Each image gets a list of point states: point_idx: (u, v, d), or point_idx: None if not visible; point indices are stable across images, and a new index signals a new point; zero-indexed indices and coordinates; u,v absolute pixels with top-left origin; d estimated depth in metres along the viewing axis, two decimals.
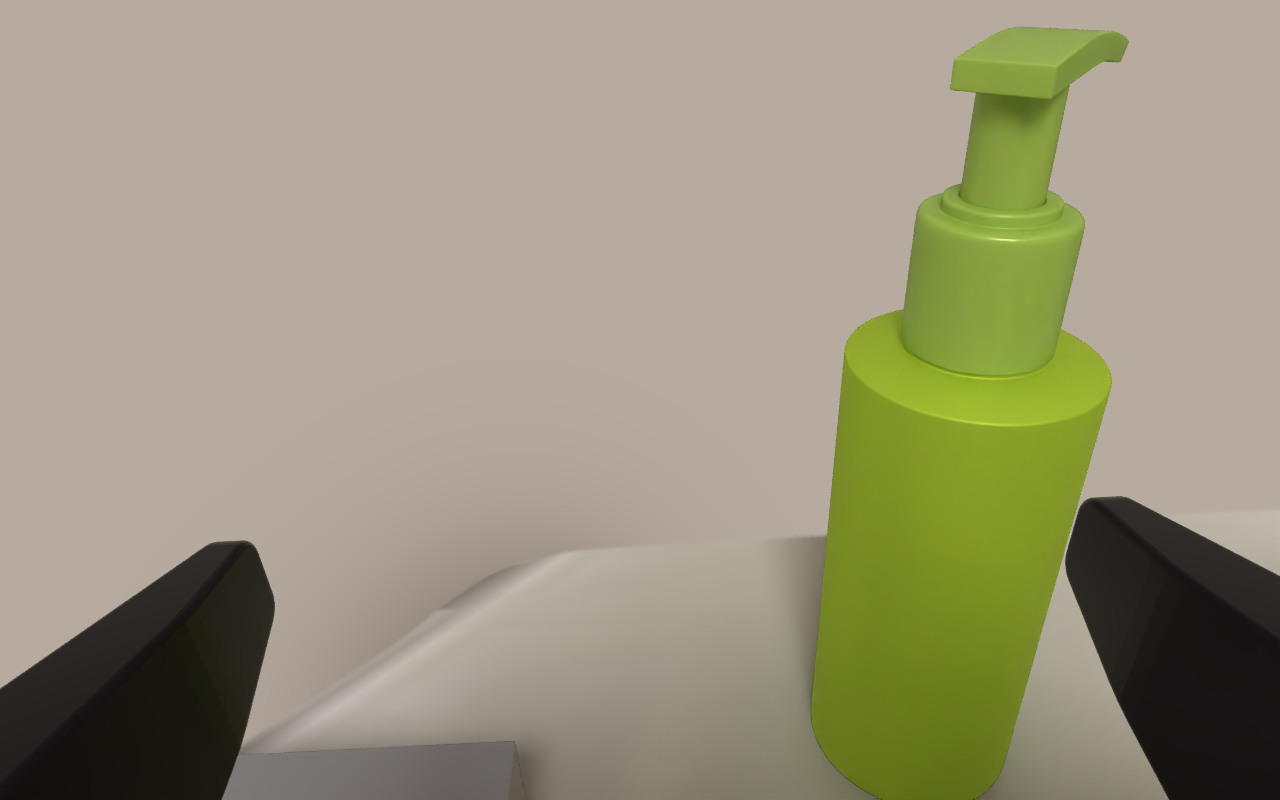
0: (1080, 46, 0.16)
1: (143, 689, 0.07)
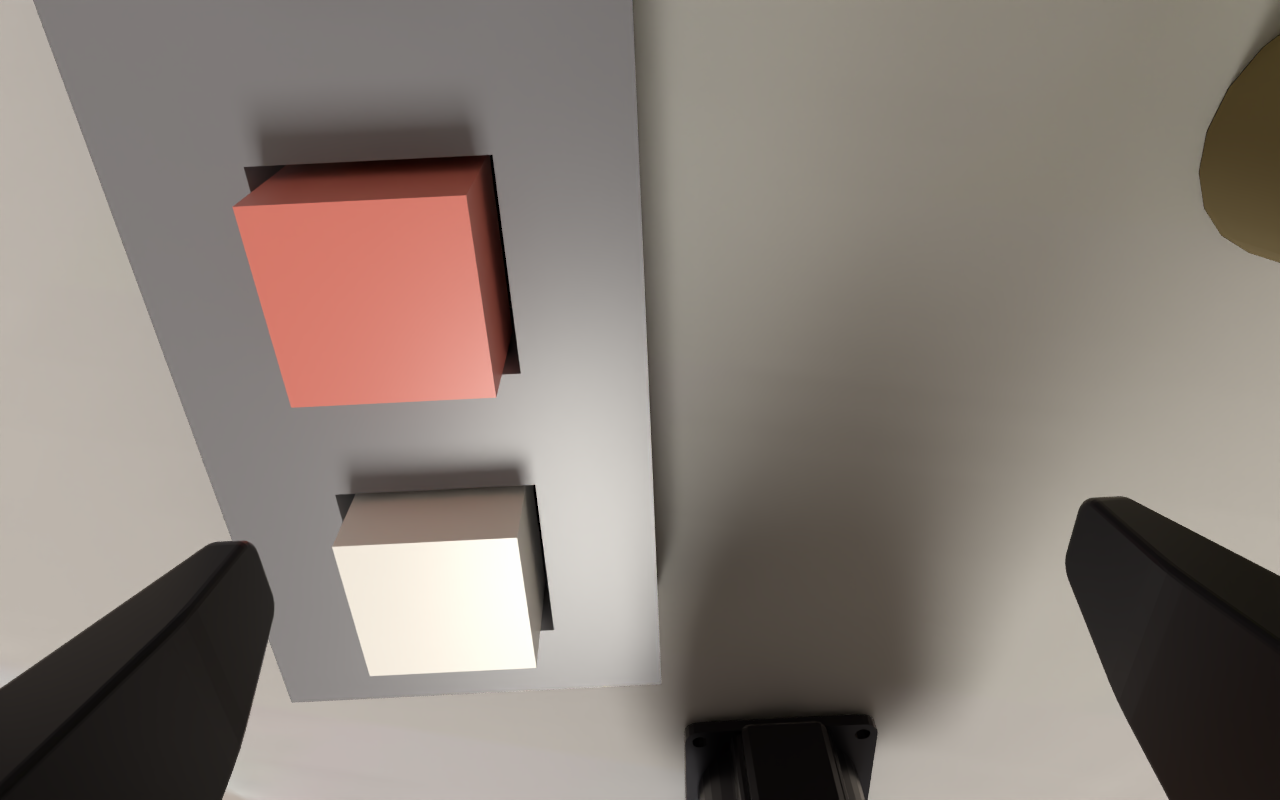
0: None
1: (142, 689, 0.07)
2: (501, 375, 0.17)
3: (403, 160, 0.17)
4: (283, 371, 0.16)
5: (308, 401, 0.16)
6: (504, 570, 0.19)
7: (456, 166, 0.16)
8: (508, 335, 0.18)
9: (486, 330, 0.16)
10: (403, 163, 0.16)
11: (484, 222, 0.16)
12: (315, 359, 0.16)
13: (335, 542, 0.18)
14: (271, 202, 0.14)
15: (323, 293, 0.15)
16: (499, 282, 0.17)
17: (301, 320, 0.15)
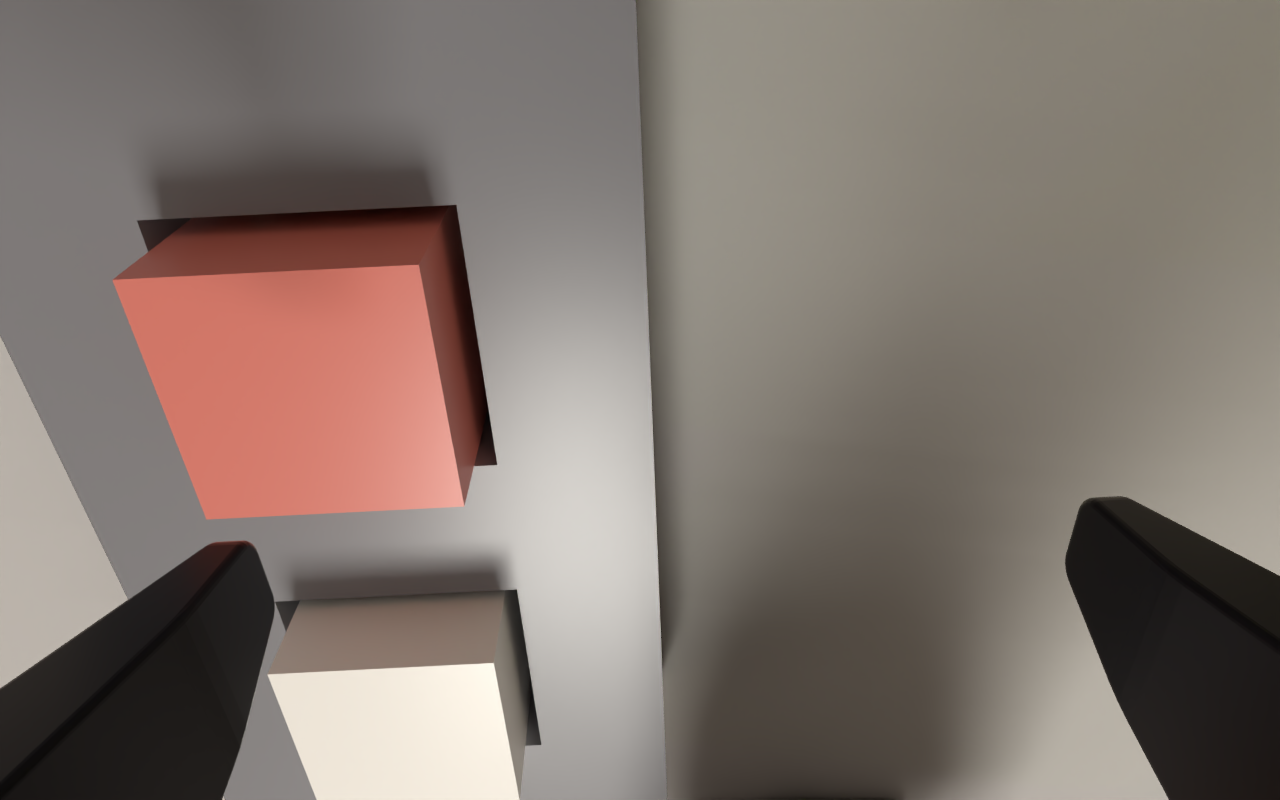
0: None
1: (142, 689, 0.07)
2: (472, 472, 0.14)
3: None
4: (193, 477, 0.13)
5: (227, 512, 0.13)
6: (479, 697, 0.15)
7: (411, 216, 0.13)
8: (482, 415, 0.15)
9: (450, 428, 0.12)
10: (345, 210, 0.13)
11: (447, 288, 0.13)
12: (234, 463, 0.13)
13: (272, 667, 0.15)
14: (164, 273, 0.11)
15: (239, 385, 0.12)
16: (470, 354, 0.14)
17: (211, 418, 0.12)
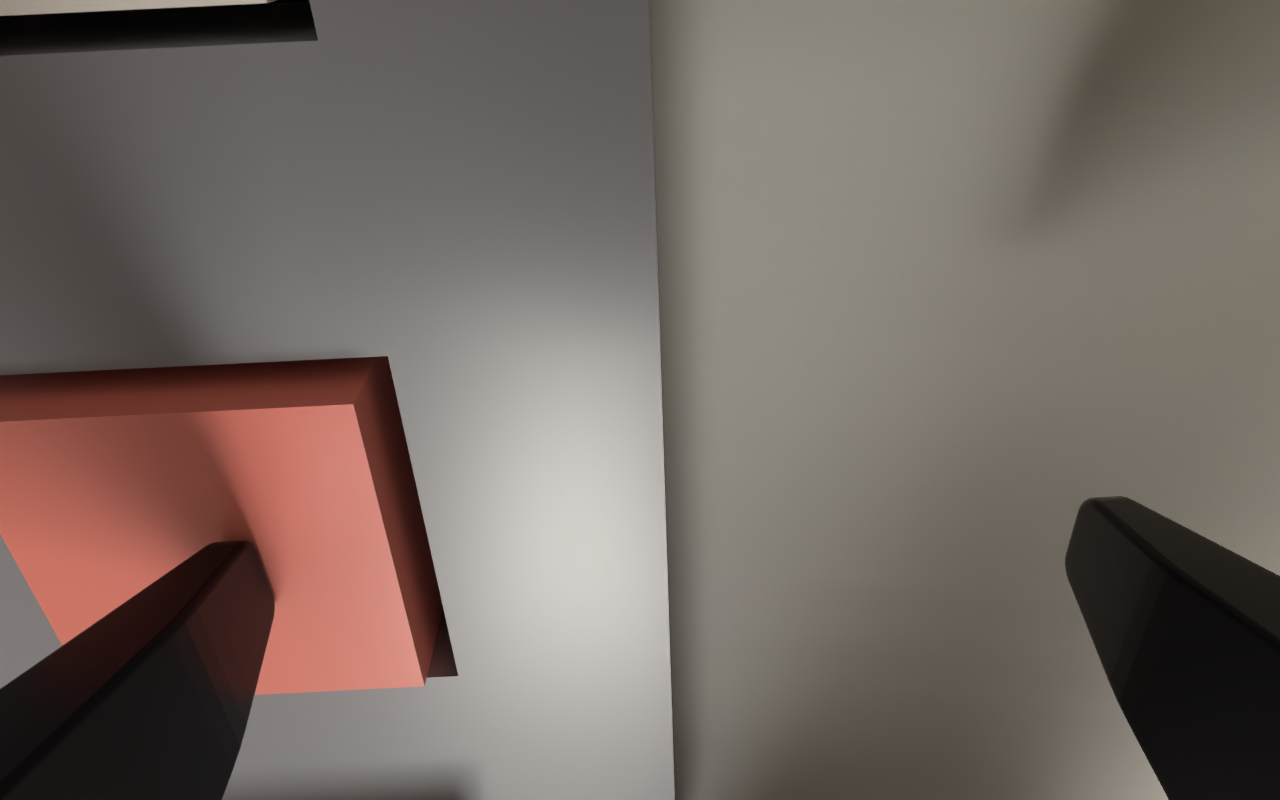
0: None
1: (142, 688, 0.07)
2: None
3: None
4: None
5: None
6: None
7: None
8: None
9: (403, 597, 0.10)
10: None
11: None
12: None
13: None
14: (13, 413, 0.08)
15: (123, 550, 0.09)
16: None
17: (90, 589, 0.09)
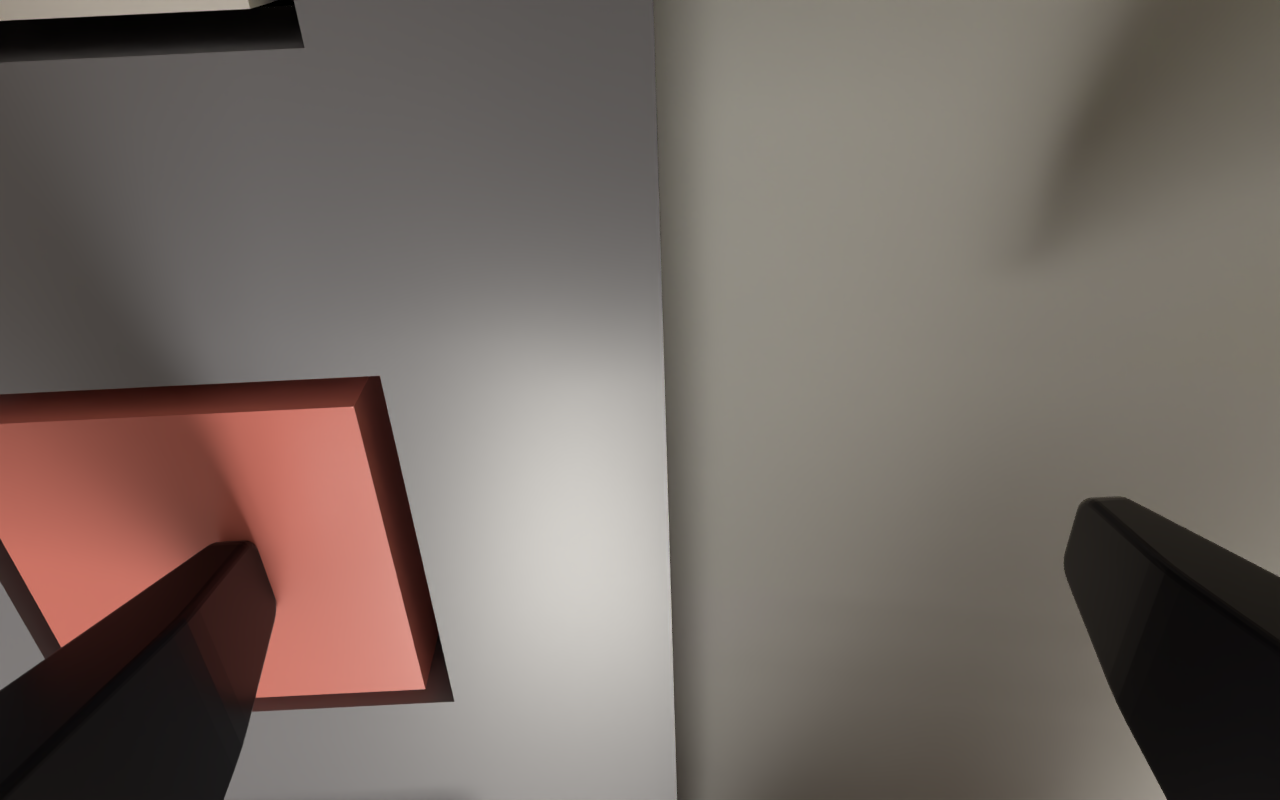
0: None
1: (144, 688, 0.07)
2: (437, 634, 0.11)
3: None
4: None
5: None
6: None
7: None
8: None
9: (404, 599, 0.09)
10: None
11: None
12: None
13: None
14: (11, 416, 0.08)
15: (122, 553, 0.09)
16: None
17: (90, 591, 0.09)
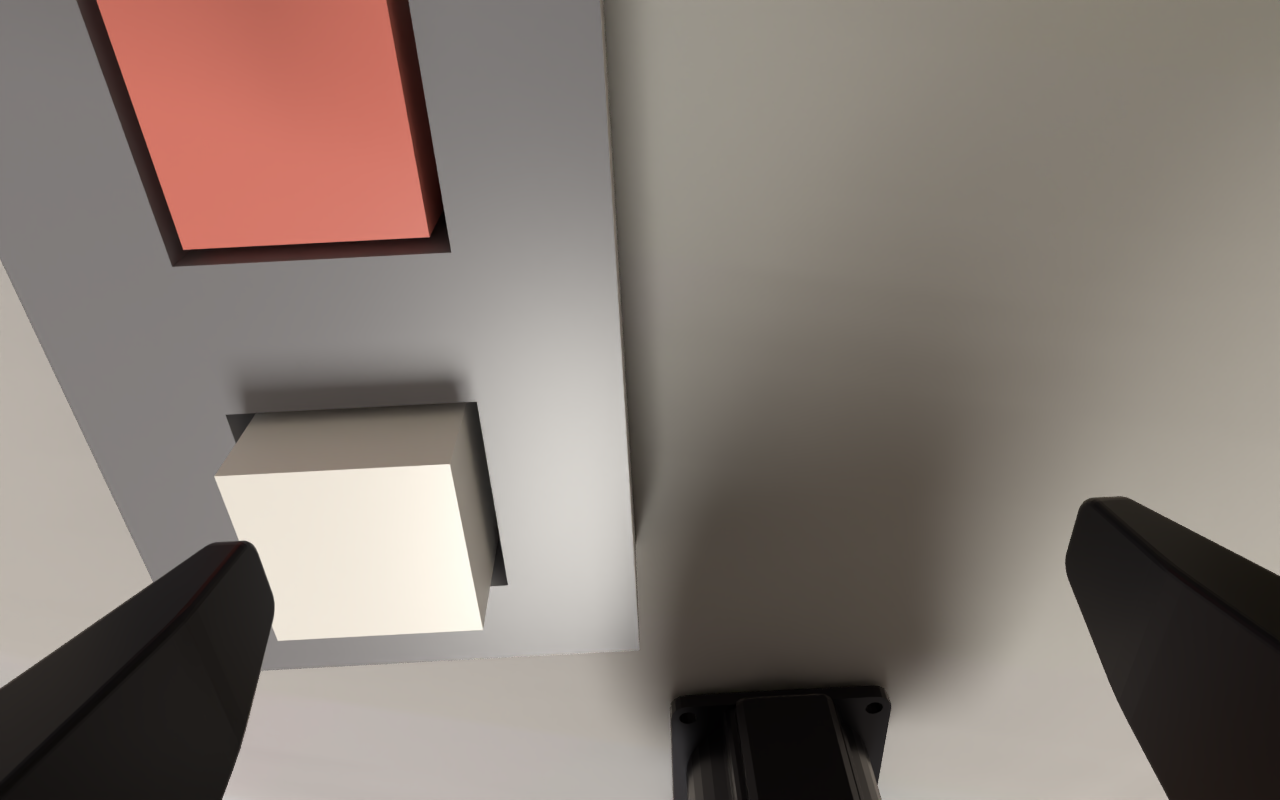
0: None
1: (142, 689, 0.07)
2: (438, 217, 0.14)
3: None
4: (169, 202, 0.13)
5: (203, 241, 0.14)
6: (437, 506, 0.15)
7: None
8: None
9: (414, 148, 0.13)
10: None
11: (411, 19, 0.13)
12: (207, 185, 0.13)
13: (219, 471, 0.14)
14: None
15: (211, 96, 0.12)
16: None
17: (186, 133, 0.13)
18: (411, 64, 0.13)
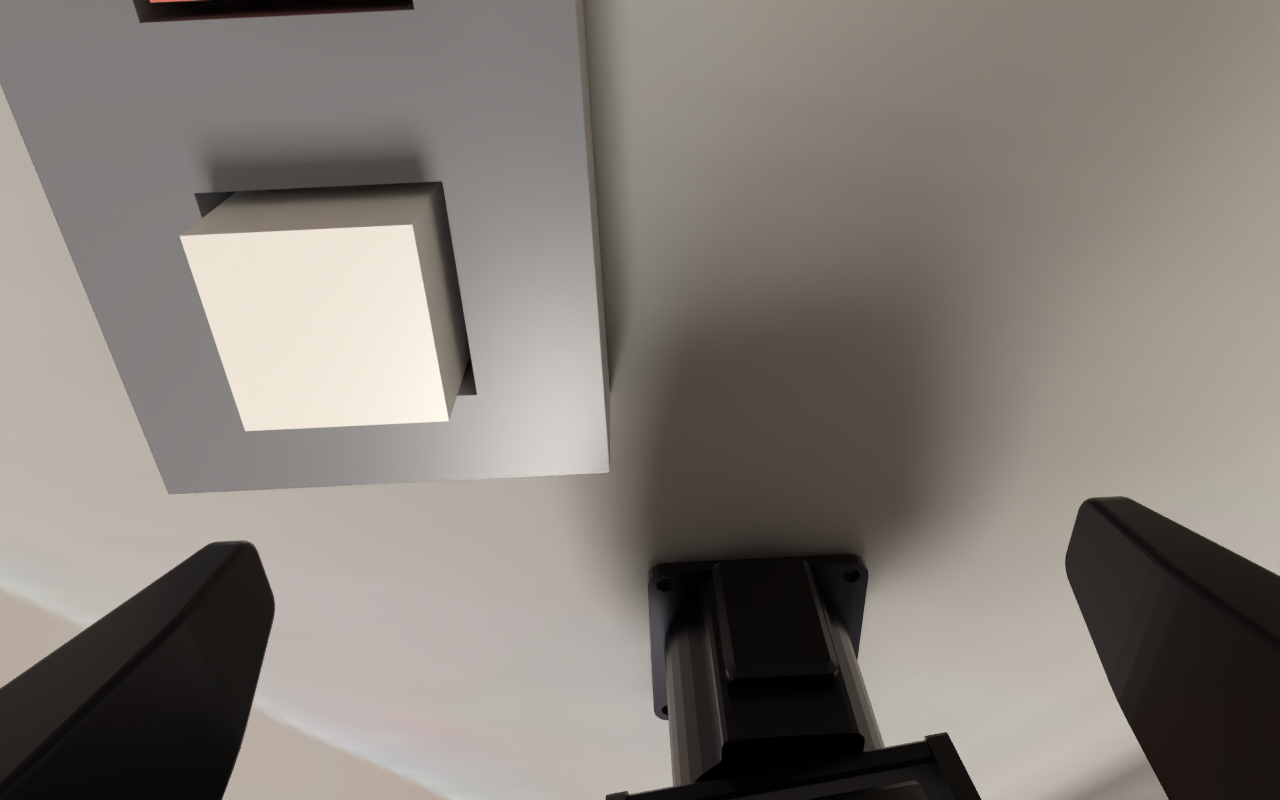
0: None
1: (141, 690, 0.07)
2: None
3: None
4: None
5: None
6: (400, 274, 0.15)
7: None
8: None
9: None
10: None
11: None
12: None
13: (185, 232, 0.15)
14: None
15: None
16: None
17: None
18: None
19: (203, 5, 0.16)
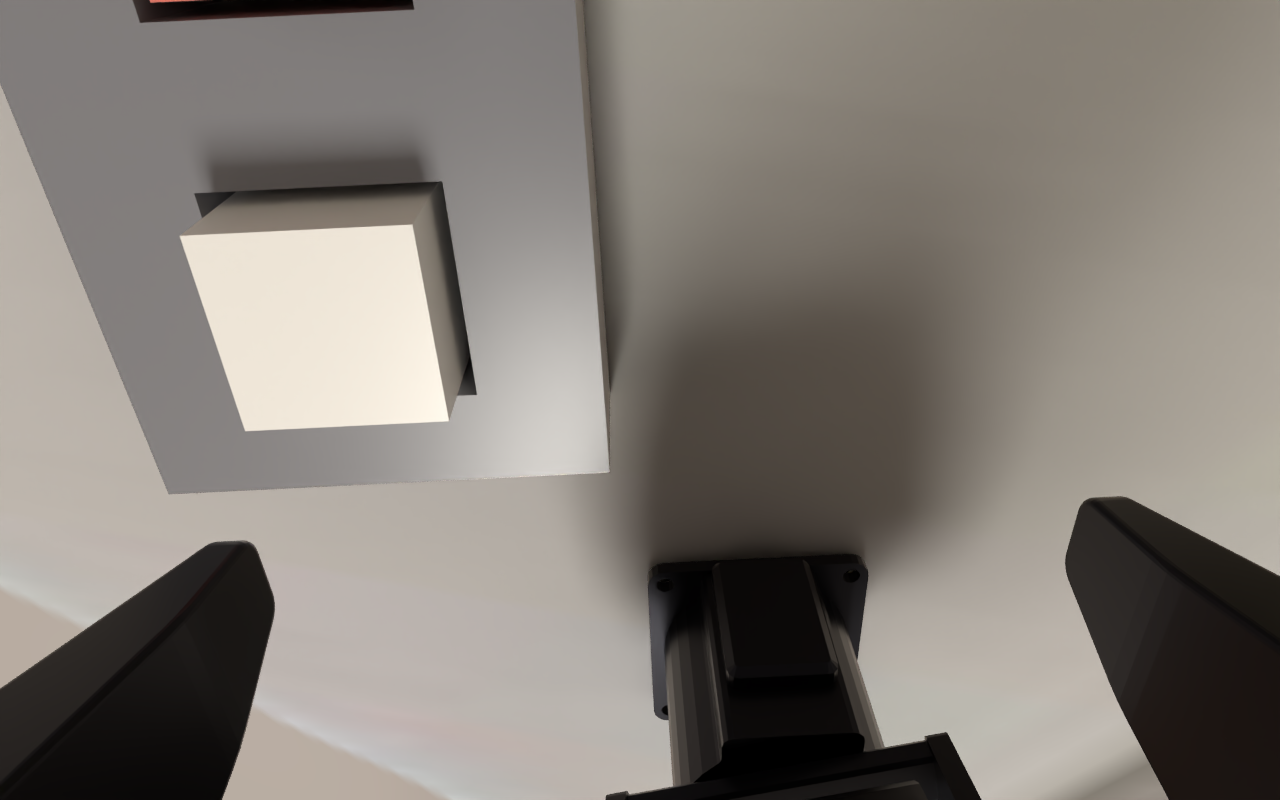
0: None
1: (141, 690, 0.07)
2: None
3: None
4: None
5: None
6: (400, 274, 0.15)
7: None
8: None
9: None
10: None
11: None
12: None
13: (185, 232, 0.15)
14: None
15: None
16: None
17: None
18: None
19: (203, 5, 0.16)
